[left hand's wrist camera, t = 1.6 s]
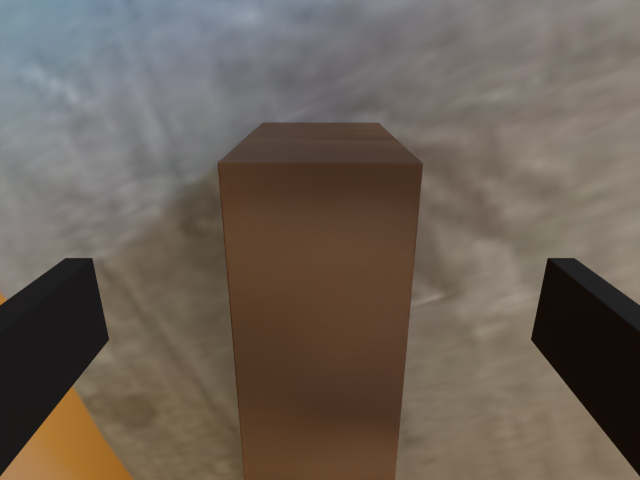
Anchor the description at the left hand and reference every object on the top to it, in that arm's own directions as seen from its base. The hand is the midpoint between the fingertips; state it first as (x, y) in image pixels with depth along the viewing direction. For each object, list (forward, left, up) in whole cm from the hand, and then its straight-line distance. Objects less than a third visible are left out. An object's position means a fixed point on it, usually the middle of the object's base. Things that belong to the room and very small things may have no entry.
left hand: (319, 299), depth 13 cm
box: (+10, 0, -13) cm, 16 cm away
